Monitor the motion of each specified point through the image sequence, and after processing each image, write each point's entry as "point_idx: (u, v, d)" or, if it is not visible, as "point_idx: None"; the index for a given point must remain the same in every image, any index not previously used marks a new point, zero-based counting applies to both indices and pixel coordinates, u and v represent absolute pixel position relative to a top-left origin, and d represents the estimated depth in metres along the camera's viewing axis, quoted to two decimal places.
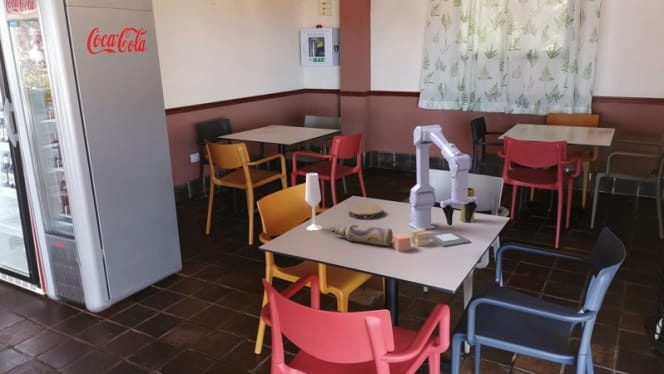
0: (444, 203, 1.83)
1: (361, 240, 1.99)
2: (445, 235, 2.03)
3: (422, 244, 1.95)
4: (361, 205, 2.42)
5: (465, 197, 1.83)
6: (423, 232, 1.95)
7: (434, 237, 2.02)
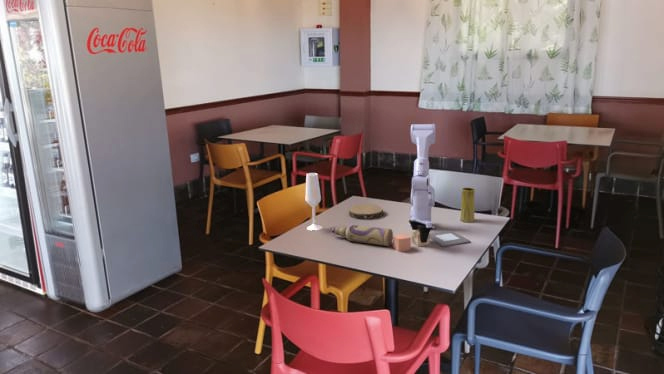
0: (410, 213, 2.01)
1: (361, 240, 1.99)
2: (445, 235, 2.03)
3: (422, 244, 1.95)
4: (361, 205, 2.42)
5: (415, 215, 1.93)
6: None
7: (434, 237, 2.02)
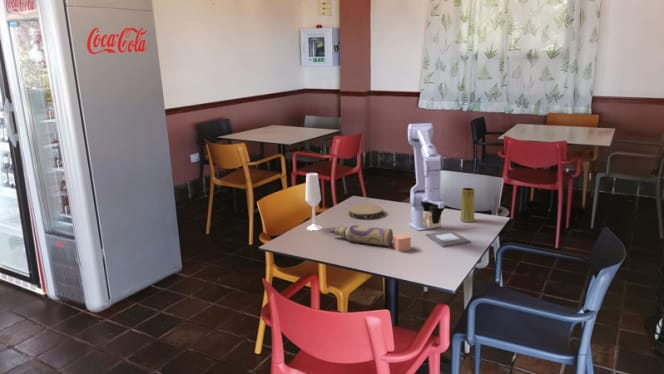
0: (422, 195, 2.01)
1: (361, 240, 1.99)
2: (445, 235, 2.03)
3: (433, 225, 1.95)
4: (361, 205, 2.42)
5: (427, 196, 1.93)
6: None
7: (434, 237, 2.02)
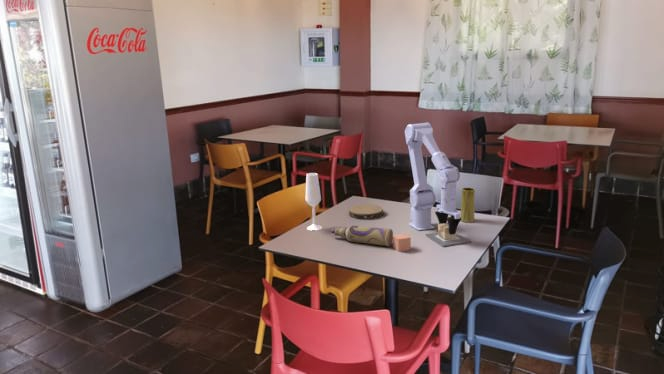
0: (437, 205, 2.04)
1: (361, 241, 1.99)
2: None
3: (449, 237, 1.99)
4: (361, 205, 2.42)
5: (443, 207, 1.97)
6: None
7: (434, 237, 2.02)
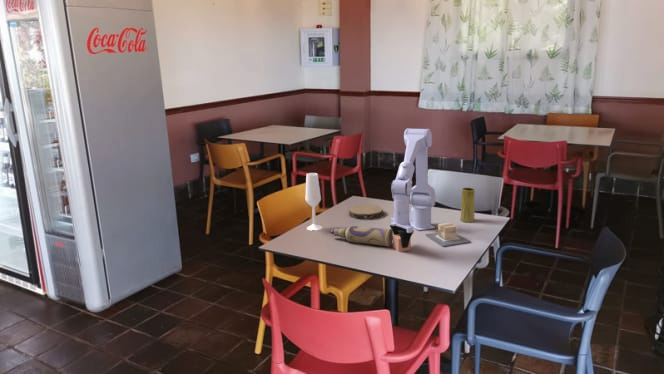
0: (391, 218, 1.97)
1: (361, 241, 1.98)
2: None
3: (449, 237, 1.99)
4: (361, 205, 2.42)
5: (396, 220, 1.89)
6: (450, 226, 1.98)
7: (434, 237, 2.02)
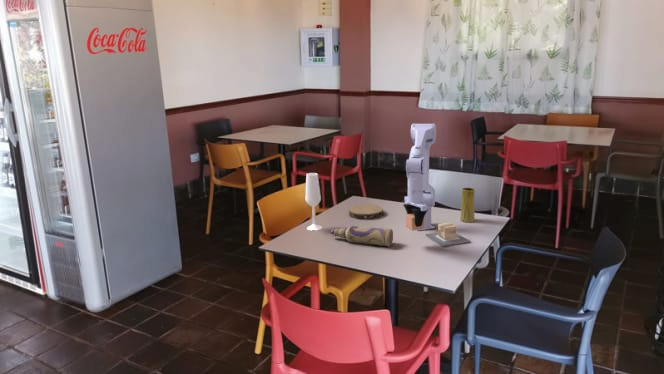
0: (405, 197, 1.97)
1: (362, 241, 1.98)
2: None
3: (449, 237, 1.99)
4: (361, 205, 2.42)
5: (409, 198, 1.89)
6: (450, 226, 1.98)
7: (434, 237, 2.02)
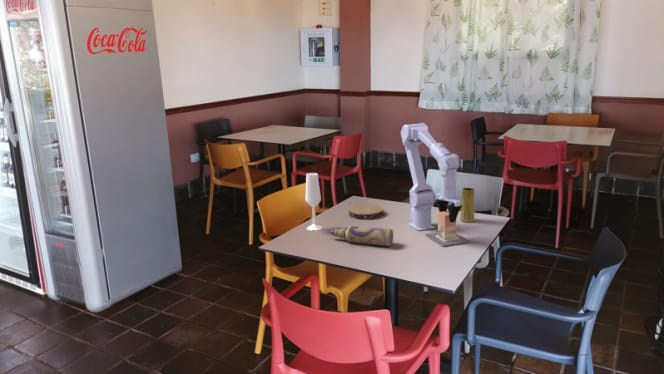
0: (437, 193, 2.03)
1: (362, 241, 1.98)
2: None
3: (449, 237, 1.99)
4: (361, 205, 2.42)
5: (443, 194, 1.95)
6: None
7: (434, 237, 2.02)
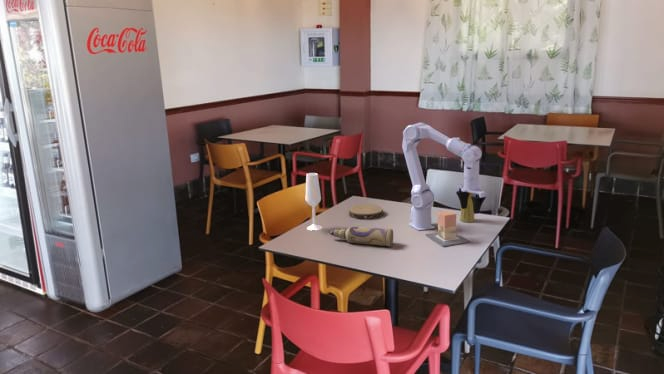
0: (458, 186, 2.05)
1: (362, 241, 1.98)
2: None
3: (449, 237, 1.99)
4: (361, 205, 2.42)
5: (466, 186, 1.98)
6: None
7: (434, 237, 2.02)
